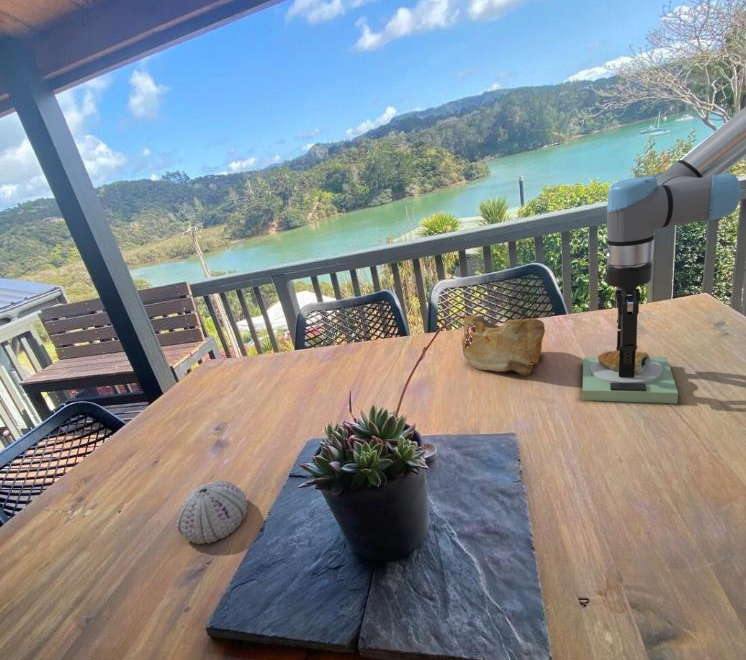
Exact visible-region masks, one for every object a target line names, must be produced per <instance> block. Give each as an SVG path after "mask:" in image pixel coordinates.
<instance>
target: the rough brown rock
mask: <svg viewBox="0 0 746 660" xmlns="http://www.w3.org/2000/svg"><path fill="white" fill-rule="evenodd" d="M467 324H471V325H474V326H475V328H476V332H475V333H473V332H472V331H471V332H470V335H471V336H472V338H473V341H472V343H471V344H470V345H469V347H468V348H465V347H464V345H465V342H466V332H467V329H468V328H467ZM545 333H546V329H545V323H544V322H543V321H542V320H540V319H538V318H533V317H532V318H524V319H519V318H517V319H516V318H515V319H508V320H506V321H504V323H503V325H501V326H500V325H498V324H496V323H494V322H491V321H488V320H487V319H486V318H484V317H483V316H482V315H473V314H471V315H468V316H465V317H464V318H463V336H462V338H461V347H462V353H463V356H464V358H465V359H466V361H467V362H468V364H469V365H471V366H472V367H473V368H474V369H477V370H480V371H492V372H498V373H502V372H504V373H505V372H508V371H511V372H515V373H516V374H518V375H520V376H525V377H527V376H530V375H531V372H532V370H533V369H534V365H535V364H538V363H539V360H540V358H541V353H542V349H543V346H542V345H543V340H544V335H545Z"/></svg>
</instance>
